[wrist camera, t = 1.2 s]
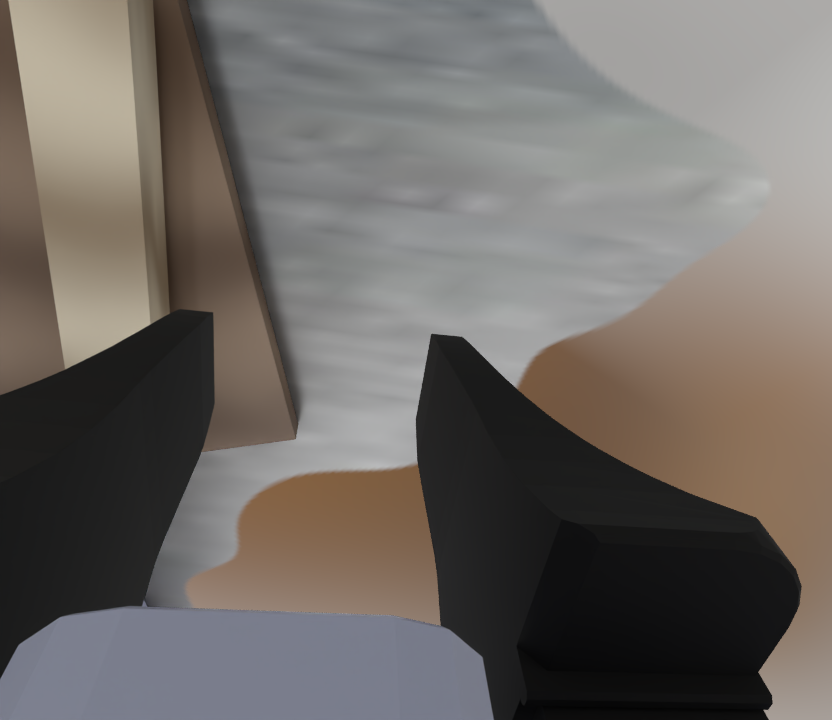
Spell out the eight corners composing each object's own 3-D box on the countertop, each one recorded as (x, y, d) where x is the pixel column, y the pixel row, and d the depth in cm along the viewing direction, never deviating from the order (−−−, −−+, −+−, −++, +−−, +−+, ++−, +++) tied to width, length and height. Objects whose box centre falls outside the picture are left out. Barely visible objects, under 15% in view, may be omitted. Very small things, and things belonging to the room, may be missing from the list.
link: (190, 442, 23) (176, 478, 21) (88, 435, 22) (65, 471, 21) (173, 3, 16) (149, 3, 14) (24, -22, 15) (-20, -25, 14)
